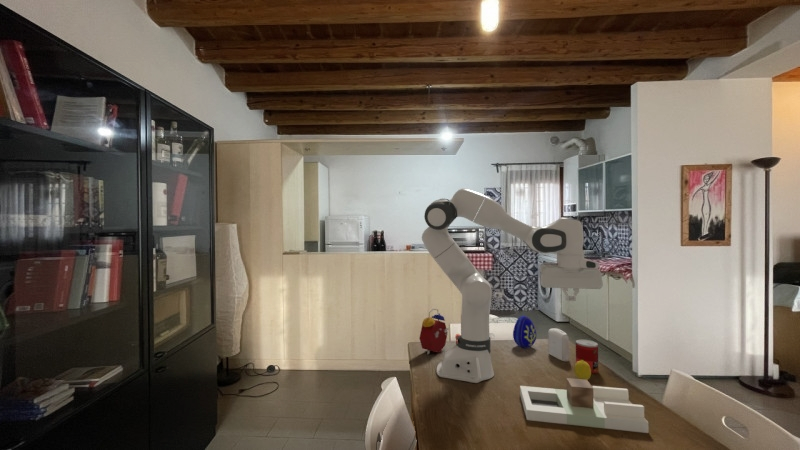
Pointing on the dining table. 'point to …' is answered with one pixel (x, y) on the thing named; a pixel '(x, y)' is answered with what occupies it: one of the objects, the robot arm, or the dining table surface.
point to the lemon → (582, 370)
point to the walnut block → (580, 393)
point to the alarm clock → (433, 333)
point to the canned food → (587, 353)
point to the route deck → (585, 409)
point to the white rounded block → (558, 344)
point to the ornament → (524, 332)
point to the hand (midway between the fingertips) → (570, 300)
